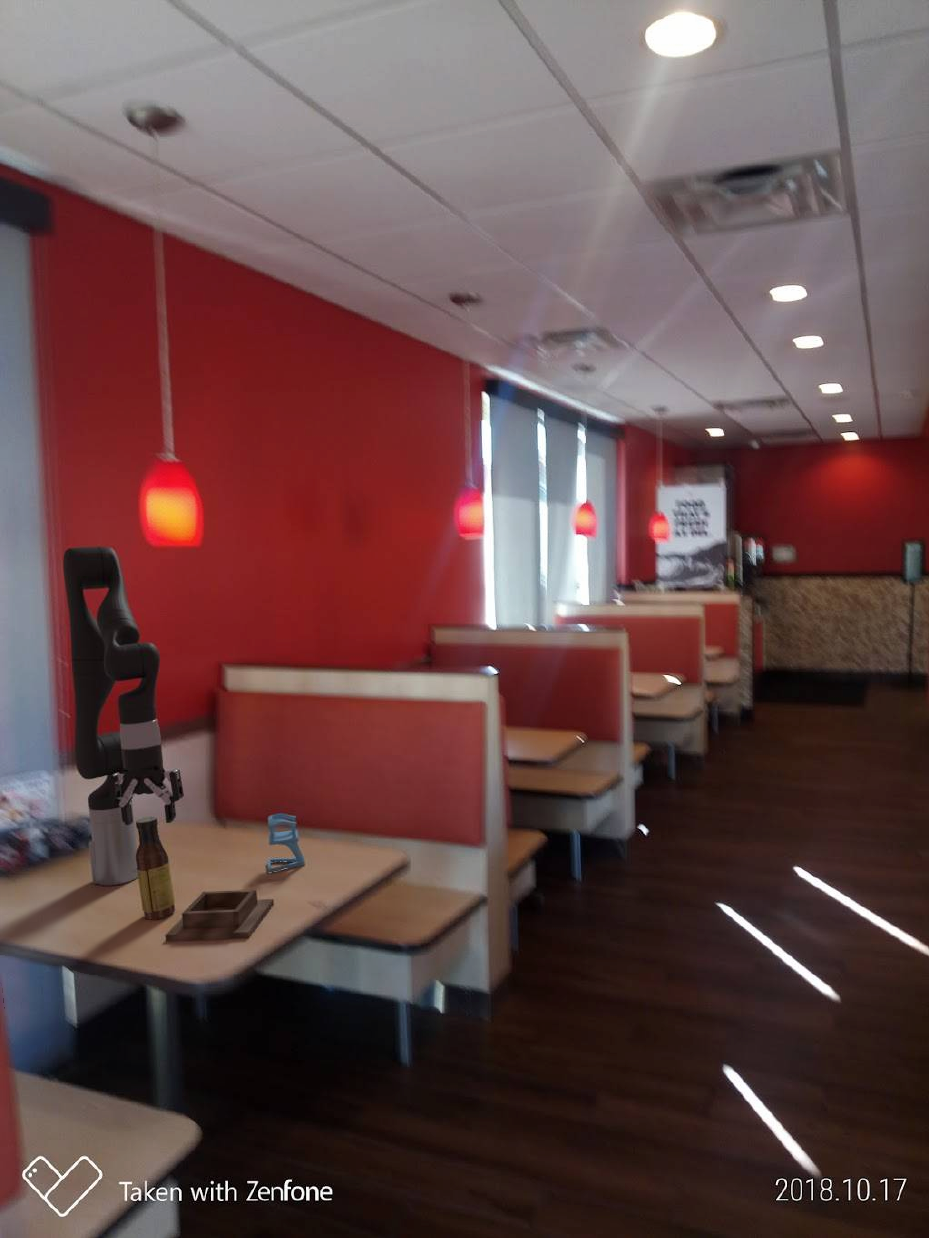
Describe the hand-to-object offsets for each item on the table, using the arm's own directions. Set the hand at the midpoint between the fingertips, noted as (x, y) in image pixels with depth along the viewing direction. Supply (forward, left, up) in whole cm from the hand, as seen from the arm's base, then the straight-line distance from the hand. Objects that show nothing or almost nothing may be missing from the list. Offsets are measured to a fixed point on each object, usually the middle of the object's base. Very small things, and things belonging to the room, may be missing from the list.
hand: (149, 822), depth 188 cm
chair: (+19, +26, -19) cm, 37 cm away
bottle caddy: (+15, -5, -19) cm, 25 cm away
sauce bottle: (0, 0, -19) cm, 19 cm away
